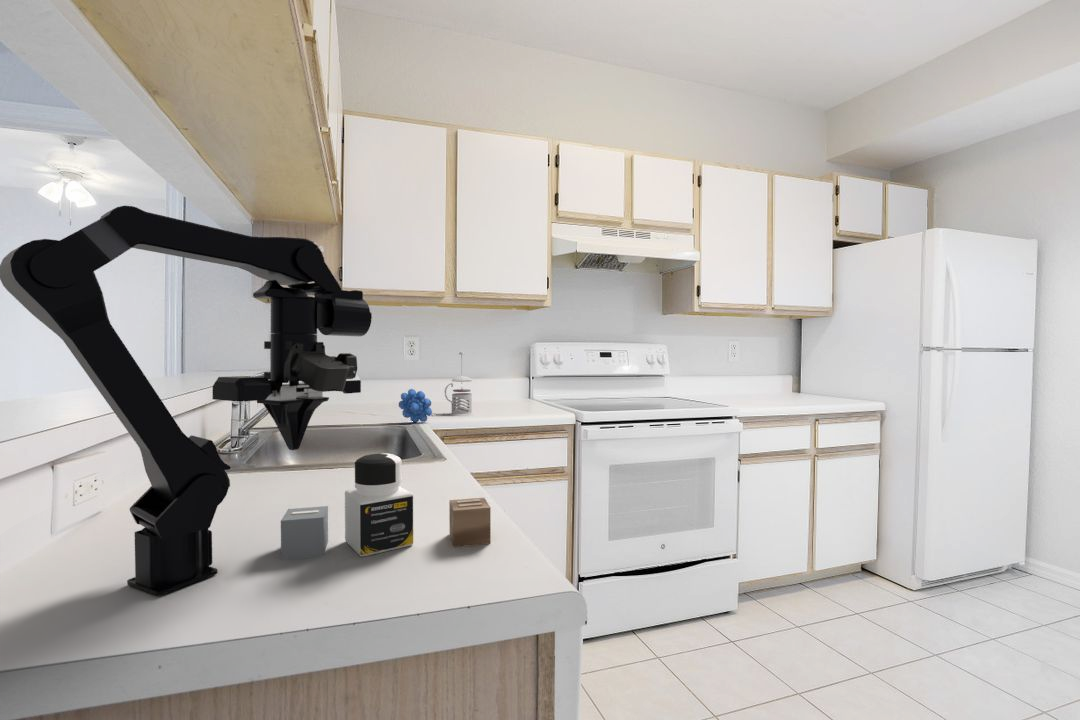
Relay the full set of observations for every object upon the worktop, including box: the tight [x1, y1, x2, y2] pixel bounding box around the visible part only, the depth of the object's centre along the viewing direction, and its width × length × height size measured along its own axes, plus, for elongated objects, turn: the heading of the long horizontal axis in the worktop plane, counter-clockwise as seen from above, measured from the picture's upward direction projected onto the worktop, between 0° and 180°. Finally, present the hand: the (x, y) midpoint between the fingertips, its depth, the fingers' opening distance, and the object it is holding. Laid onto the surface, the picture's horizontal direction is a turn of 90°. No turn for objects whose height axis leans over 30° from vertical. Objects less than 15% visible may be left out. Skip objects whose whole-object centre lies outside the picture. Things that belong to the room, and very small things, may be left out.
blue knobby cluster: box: [398, 388, 433, 423], centre depth 185 cm, size 12×7×12 cm, turn 95°
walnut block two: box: [448, 497, 492, 548], centre depth 73 cm, size 5×5×5 cm
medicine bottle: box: [344, 452, 414, 558], centre depth 71 cm, size 7×7×12 cm
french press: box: [444, 351, 475, 417], centre depth 209 cm, size 10×12×25 cm
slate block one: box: [280, 505, 329, 561], centre depth 69 cm, size 5×5×5 cm
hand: (293, 449), depth 71 cm, fingers closed
